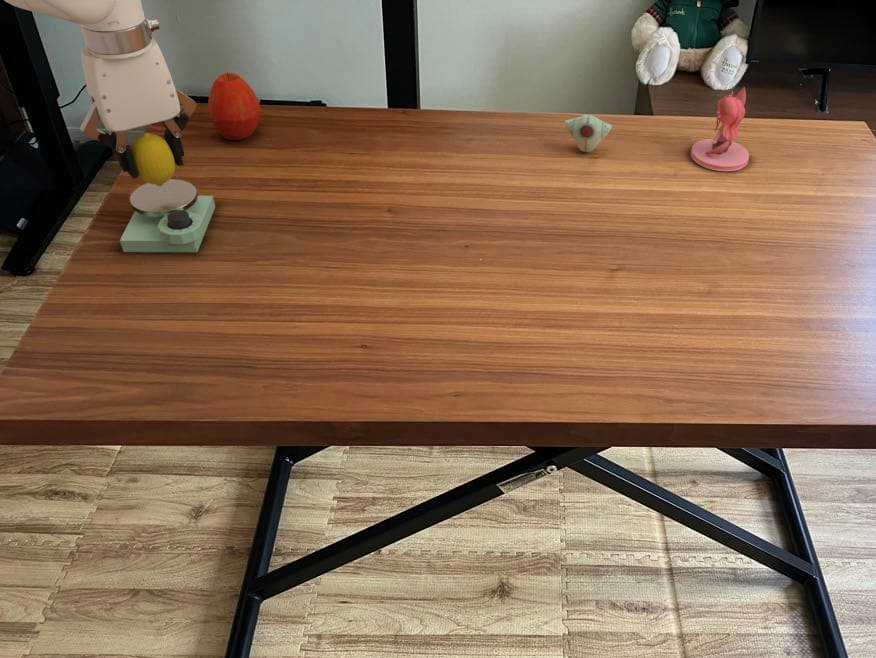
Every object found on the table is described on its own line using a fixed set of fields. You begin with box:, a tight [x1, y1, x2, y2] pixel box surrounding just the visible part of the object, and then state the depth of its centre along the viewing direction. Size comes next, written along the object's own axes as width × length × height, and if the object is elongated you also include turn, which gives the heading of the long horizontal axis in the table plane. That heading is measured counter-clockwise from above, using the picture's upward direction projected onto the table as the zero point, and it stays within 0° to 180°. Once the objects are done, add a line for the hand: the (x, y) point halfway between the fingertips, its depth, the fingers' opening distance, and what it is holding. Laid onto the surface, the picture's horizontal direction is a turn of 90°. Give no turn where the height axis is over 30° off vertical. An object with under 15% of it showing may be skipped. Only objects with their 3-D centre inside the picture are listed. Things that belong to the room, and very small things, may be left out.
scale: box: [119, 195, 216, 253], centre depth 124 cm, size 13×11×4 cm
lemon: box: [129, 131, 176, 186], centre depth 120 cm, size 6×6×8 cm
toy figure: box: [690, 86, 750, 172], centre depth 144 cm, size 10×10×12 cm
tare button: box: [167, 210, 191, 230], centre depth 120 cm, size 3×3×2 cm
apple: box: [207, 72, 261, 142], centre depth 142 cm, size 8×8×11 cm
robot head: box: [564, 114, 613, 153], centre depth 145 cm, size 8×4×7 cm, turn 82°
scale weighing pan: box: [129, 178, 199, 217], centre depth 124 cm, size 9×9×1 cm
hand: (154, 166), depth 120 cm, fingers closed on lemon, 5 cm apart
